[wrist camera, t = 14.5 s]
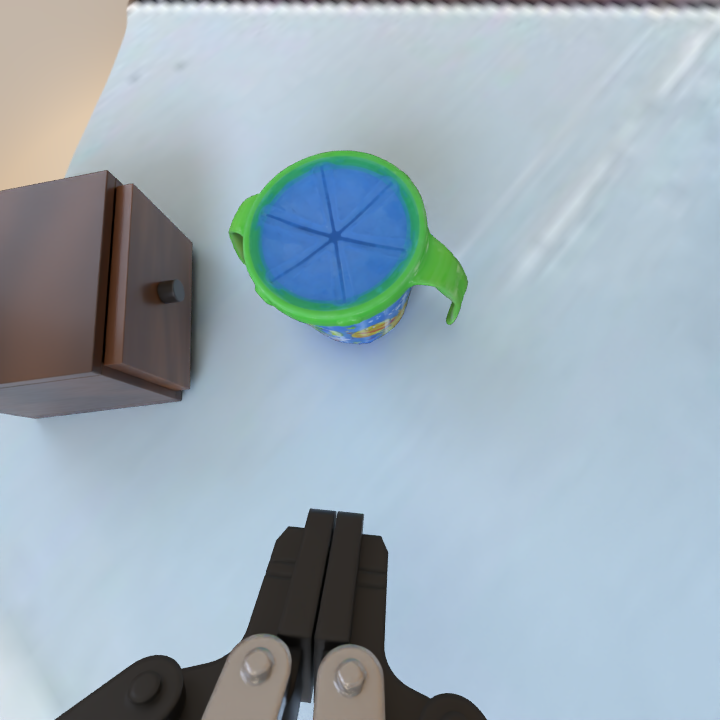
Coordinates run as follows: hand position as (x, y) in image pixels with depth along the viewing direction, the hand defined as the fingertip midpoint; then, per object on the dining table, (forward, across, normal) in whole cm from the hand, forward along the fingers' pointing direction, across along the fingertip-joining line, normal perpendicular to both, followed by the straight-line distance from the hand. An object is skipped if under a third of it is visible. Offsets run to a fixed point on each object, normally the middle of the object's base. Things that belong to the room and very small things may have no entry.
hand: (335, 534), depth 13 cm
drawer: (+23, +20, +4) cm, 31 cm away
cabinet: (+24, +22, +5) cm, 33 cm away
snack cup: (+24, +2, +1) cm, 24 cm away
